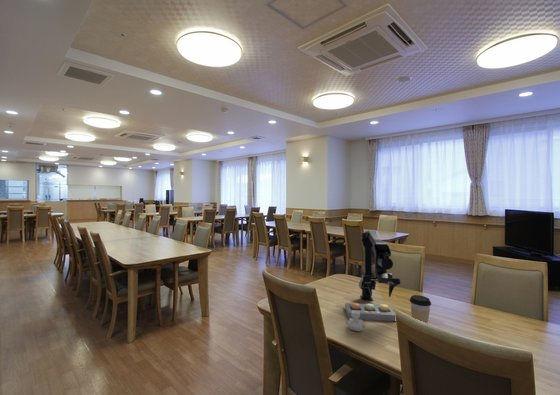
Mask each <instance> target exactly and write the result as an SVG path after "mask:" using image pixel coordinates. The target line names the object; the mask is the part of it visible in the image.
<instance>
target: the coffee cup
mask: <svg viewBox="0 0 560 395" xmlns="http://www.w3.org/2000/svg"><path fill="white" fill-rule="evenodd" d="M408 301H409V302H410V309H411V311H410V312H411V318H412V317H413V318H415V319H418V320H420V321H423V322H425V323H427V324H428V322H429V318H430V310H431V306H432V302H431V300H430V298H429V297H427V296H424V295H421V294H414V295H411V297H409V300H408Z"/></svg>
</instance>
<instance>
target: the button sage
mask: <svg viewBox="0 0 560 395" xmlns="http://www.w3.org/2000/svg"><path fill="white" fill-rule="evenodd" d="M365 304H366V307H365V309H367V311H373V310H374V305H375V304H372V303H365Z"/></svg>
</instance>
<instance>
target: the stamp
mask: <svg viewBox="0 0 560 395" xmlns="http://www.w3.org/2000/svg"><path fill="white" fill-rule="evenodd" d="M351 317H353V318H350V319H349V318H348V319H349V320H348V321H347V320H346V322H345V325H347V326H346V327H347V328H348V329H349V330H350V331H355V332H361V331H362V330H363V329H365V328H366V324H364V319H358V318H359V317H360V311H356V310H352V313H351Z"/></svg>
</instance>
